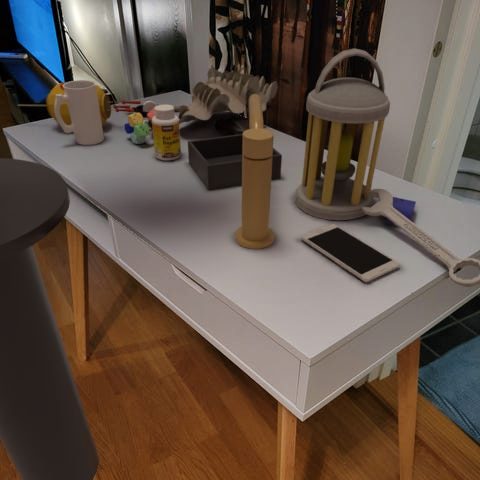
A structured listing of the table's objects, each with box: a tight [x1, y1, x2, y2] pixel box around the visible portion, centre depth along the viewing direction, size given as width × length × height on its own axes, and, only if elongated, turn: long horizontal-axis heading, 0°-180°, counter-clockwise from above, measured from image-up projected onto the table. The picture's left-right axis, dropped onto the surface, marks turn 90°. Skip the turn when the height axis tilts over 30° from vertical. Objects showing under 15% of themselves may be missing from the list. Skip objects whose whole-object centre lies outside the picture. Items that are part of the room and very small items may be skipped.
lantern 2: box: [17, 81, 142, 127], centre depth 115 cm, size 10×10×30 cm
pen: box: [125, 105, 182, 113], centre depth 127 cm, size 1×16×1 cm, turn 102°
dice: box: [123, 112, 150, 145], centre depth 109 cm, size 8×3×6 cm, turn 36°
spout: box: [242, 94, 275, 159], centre depth 78 cm, size 24×4×5 cm, turn 0°
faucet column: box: [234, 155, 275, 250], centre depth 75 cm, size 6×6×14 cm
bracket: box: [382, 196, 417, 226], centre depth 85 cm, size 9×5×3 cm, turn 158°
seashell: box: [178, 68, 279, 125], centre depth 117 cm, size 28×18×15 cm, turn 132°
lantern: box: [294, 48, 391, 221], centre depth 81 cm, size 14×14×25 cm
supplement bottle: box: [152, 104, 182, 161], centre depth 102 cm, size 6×6×10 cm
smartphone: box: [300, 223, 401, 283], centre depth 76 cm, size 8×1×15 cm
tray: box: [187, 134, 283, 191], centre depth 98 cm, size 15×13×5 cm
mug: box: [54, 79, 105, 146], centre depth 107 cm, size 10×7×12 cm, turn 130°
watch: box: [135, 100, 159, 119], centre depth 124 cm, size 8×5×4 cm, turn 108°
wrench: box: [361, 188, 480, 288], centre depth 77 cm, size 26×6×2 cm, turn 30°
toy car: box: [213, 116, 250, 136], centre depth 114 cm, size 6×12×4 cm, turn 37°
